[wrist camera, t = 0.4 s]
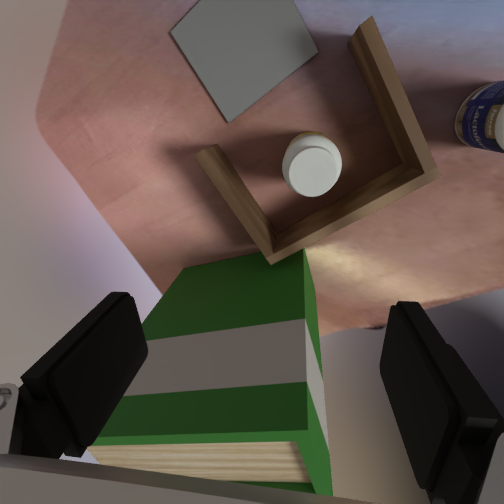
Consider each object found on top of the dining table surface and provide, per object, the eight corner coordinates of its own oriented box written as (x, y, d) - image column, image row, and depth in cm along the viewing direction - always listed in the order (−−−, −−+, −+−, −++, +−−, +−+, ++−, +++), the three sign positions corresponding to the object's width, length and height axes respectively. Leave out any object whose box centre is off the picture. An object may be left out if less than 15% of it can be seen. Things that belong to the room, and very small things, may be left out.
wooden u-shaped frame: (357, 36, 26) (372, 15, 21) (416, 165, 30) (441, 176, 24) (211, 149, 32) (193, 155, 27) (275, 243, 36) (270, 265, 31)
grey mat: (261, -61, 24) (261, -64, 24) (318, 52, 27) (318, 51, 26) (171, 33, 28) (170, 31, 28) (229, 122, 31) (228, 123, 30)
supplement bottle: (285, 132, 30) (279, 138, 22) (335, 129, 30) (349, 134, 21) (285, 182, 33) (280, 205, 24) (332, 180, 32) (344, 204, 23)
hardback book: (202, 308, 43) (107, 495, 22) (183, 268, 40) (54, 438, 19) (315, 290, 39) (333, 504, 17) (303, 243, 36) (308, 430, 15)
